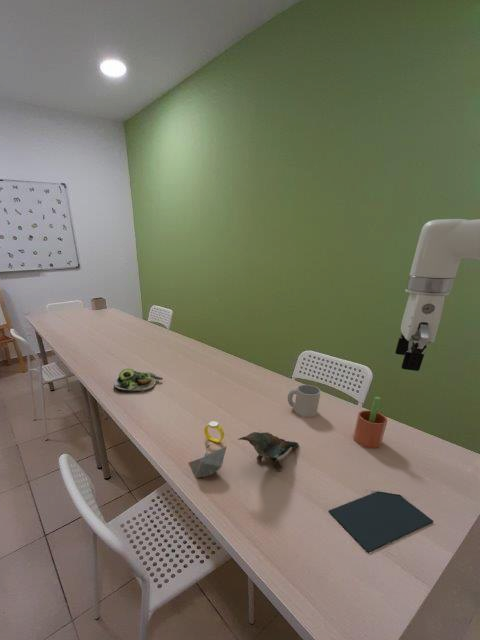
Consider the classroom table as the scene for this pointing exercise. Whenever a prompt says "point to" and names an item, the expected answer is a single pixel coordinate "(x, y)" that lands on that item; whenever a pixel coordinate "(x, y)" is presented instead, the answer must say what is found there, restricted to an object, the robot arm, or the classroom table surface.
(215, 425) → the gold diamond ring
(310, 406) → the cup
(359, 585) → the classroom table surface
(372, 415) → the green square stick
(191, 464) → the paper boat
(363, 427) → the tumbler
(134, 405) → the classroom table surface
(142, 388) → the salad plate
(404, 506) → the mat
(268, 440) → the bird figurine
